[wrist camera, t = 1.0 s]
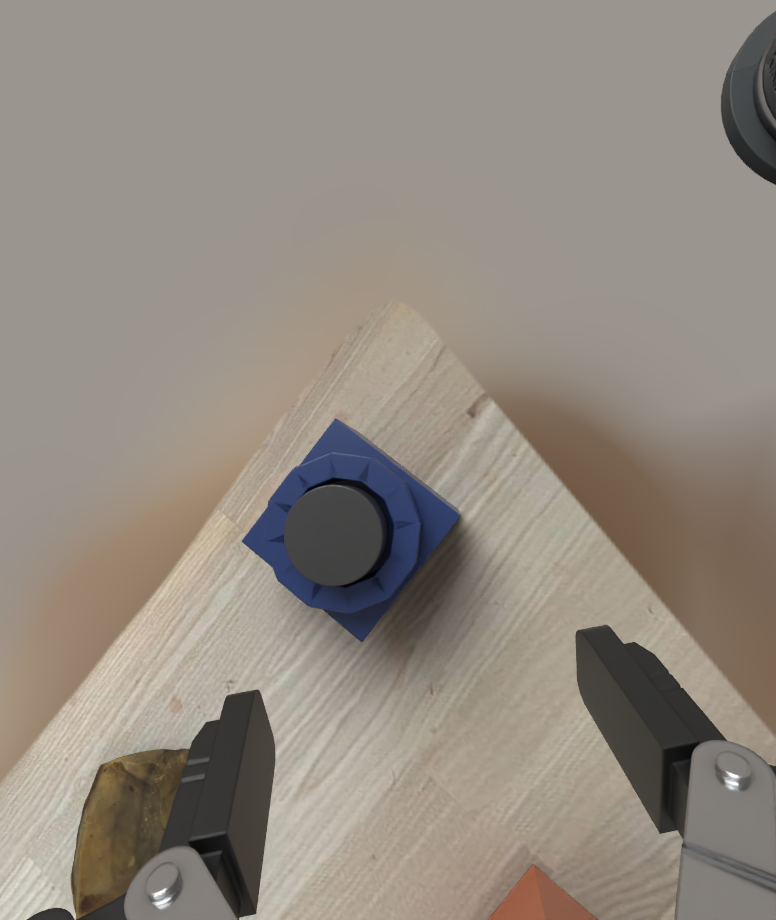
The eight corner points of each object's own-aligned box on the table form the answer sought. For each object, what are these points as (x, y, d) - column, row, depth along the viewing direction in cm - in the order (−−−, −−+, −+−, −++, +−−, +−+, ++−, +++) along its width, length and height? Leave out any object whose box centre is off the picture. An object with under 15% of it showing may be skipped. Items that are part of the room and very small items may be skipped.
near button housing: (356, 430, 33) (326, 412, 25) (459, 510, 32) (461, 518, 24) (278, 531, 33) (224, 545, 25) (378, 613, 32) (354, 655, 24)
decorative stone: (80, 754, 34) (37, 784, 31) (216, 735, 33) (187, 764, 29) (103, 924, 33) (62, 975, 30) (243, 911, 32) (217, 962, 29)
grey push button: (334, 466, 25) (324, 464, 23) (407, 523, 25) (403, 527, 23) (278, 538, 25) (263, 543, 23) (349, 597, 25) (340, 607, 23)
